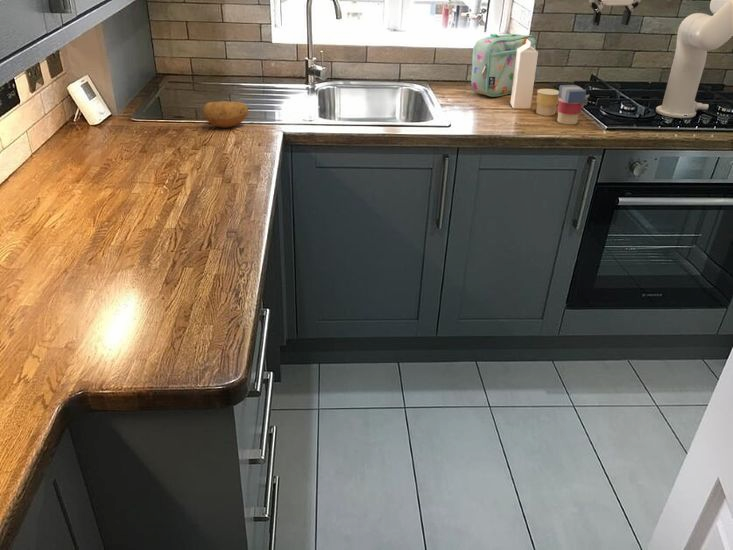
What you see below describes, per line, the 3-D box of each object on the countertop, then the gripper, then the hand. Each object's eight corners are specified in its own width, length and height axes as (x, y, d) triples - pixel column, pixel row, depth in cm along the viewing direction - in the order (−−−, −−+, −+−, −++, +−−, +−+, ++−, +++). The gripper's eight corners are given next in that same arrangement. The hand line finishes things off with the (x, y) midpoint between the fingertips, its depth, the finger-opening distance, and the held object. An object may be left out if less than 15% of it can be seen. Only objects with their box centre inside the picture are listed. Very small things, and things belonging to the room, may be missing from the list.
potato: (250, 129, 191) (248, 104, 187) (204, 132, 189) (201, 106, 185) (249, 120, 200) (246, 96, 195) (205, 123, 197) (201, 98, 193)
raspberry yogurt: (577, 118, 203) (581, 96, 199) (581, 125, 196) (585, 103, 193) (553, 117, 204) (557, 95, 200) (556, 124, 197) (560, 102, 194)
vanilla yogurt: (555, 110, 211) (558, 89, 207) (558, 116, 205) (561, 94, 201) (533, 109, 212) (536, 88, 208) (535, 115, 206) (538, 94, 202)
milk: (513, 108, 213) (521, 42, 201) (509, 103, 218) (517, 38, 206) (530, 108, 213) (539, 42, 201) (527, 103, 218) (535, 38, 206)
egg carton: (552, 104, 218) (553, 92, 216) (560, 99, 223) (562, 88, 221) (580, 109, 212) (583, 97, 210) (589, 104, 217) (591, 93, 215)
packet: (574, 95, 200) (576, 84, 198) (584, 102, 193) (586, 91, 191) (557, 96, 199) (559, 85, 197) (567, 103, 193) (569, 91, 191)
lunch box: (485, 101, 220) (492, 38, 209) (465, 95, 228) (470, 34, 217) (534, 90, 234) (542, 31, 223) (514, 84, 241) (521, 27, 230)
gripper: (600, -35, 181) (589, 27, 189) (655, -35, 182) (641, 26, 191) (589, -37, 187) (579, 23, 196) (642, -37, 189) (630, 22, 198)
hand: (610, 24), depth 194 cm, fingers open, 9 cm apart
